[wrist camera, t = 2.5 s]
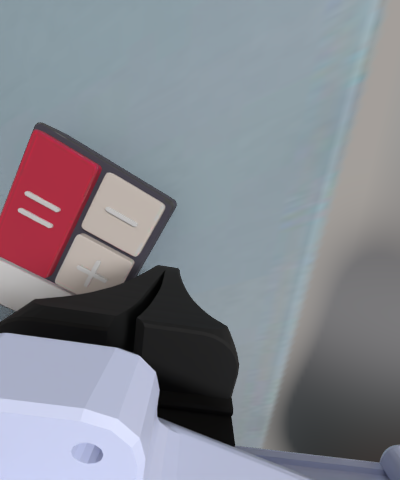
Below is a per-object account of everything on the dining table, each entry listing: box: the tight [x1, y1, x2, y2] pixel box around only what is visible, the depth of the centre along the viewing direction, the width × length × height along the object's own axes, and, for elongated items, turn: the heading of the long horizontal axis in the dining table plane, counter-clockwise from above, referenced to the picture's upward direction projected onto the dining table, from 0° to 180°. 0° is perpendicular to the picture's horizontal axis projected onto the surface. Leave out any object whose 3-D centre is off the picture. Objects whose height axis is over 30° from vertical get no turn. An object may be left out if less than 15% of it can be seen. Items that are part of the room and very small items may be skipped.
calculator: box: [0, 123, 177, 311], centre depth 16 cm, size 11×4×15 cm
